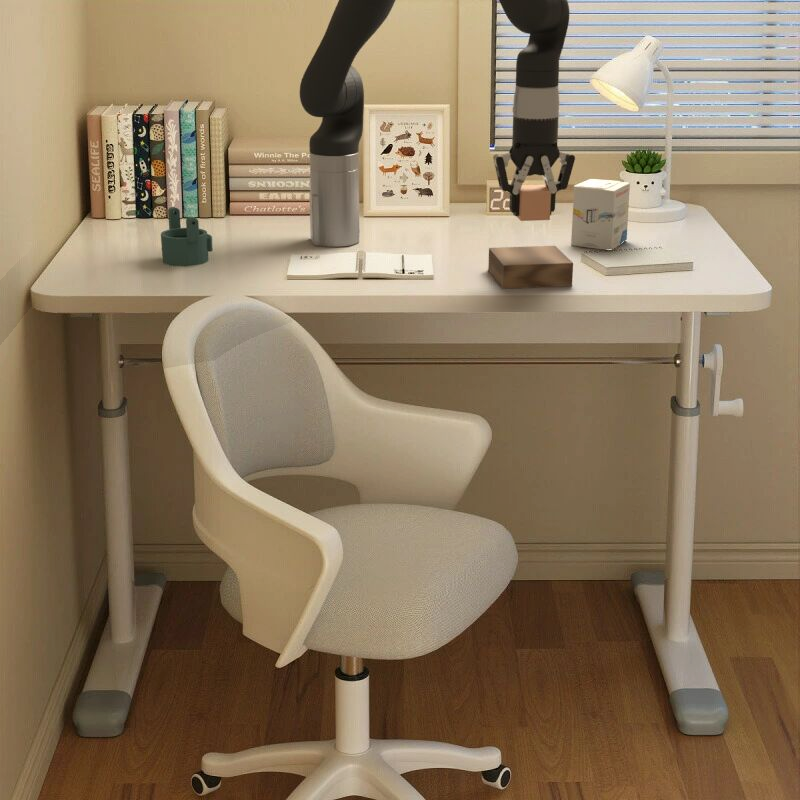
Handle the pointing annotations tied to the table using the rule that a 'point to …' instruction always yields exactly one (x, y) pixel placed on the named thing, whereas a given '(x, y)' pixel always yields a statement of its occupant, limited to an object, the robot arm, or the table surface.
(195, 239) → the bracket
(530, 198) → the terracotta cube
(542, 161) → the robot arm
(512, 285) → the walnut base
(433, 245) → the table surface
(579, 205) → the ink box
